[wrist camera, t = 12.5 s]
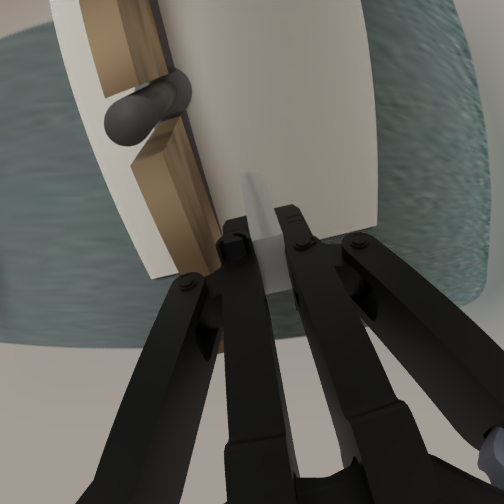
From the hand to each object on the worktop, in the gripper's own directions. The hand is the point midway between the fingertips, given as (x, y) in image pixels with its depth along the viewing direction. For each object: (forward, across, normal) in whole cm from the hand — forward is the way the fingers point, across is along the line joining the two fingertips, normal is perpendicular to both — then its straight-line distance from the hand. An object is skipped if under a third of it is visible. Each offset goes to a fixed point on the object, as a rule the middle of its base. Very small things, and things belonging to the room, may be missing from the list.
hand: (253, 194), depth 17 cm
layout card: (+2, 0, +7) cm, 7 cm away
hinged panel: (+1, -3, 0) cm, 4 cm away
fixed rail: (+2, -3, +13) cm, 14 cm away
